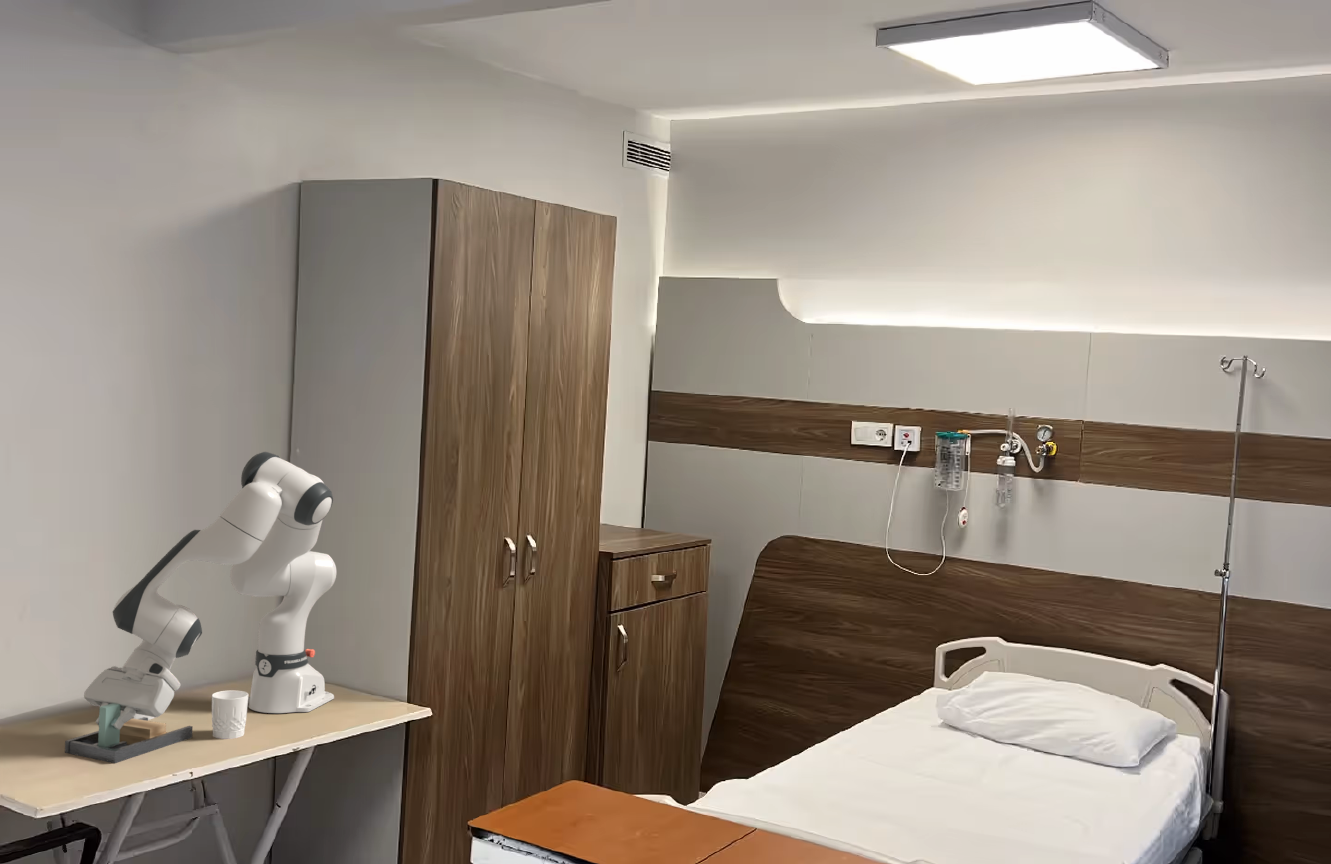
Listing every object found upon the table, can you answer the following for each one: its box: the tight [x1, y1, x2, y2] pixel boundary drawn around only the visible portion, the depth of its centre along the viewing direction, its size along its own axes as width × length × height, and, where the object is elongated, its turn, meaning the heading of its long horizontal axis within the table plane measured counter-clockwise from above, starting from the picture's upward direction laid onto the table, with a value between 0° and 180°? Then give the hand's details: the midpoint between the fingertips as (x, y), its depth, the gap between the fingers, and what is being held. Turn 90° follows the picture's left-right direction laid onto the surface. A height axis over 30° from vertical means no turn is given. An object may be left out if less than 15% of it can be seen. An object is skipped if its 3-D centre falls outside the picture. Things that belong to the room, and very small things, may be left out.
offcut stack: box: [119, 719, 168, 745], centre depth 269 cm, size 6×10×4 cm, turn 68°
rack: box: [64, 717, 193, 764], centre depth 267 cm, size 22×14×3 cm, turn 158°
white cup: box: [211, 689, 250, 740], centre depth 278 cm, size 8×8×10 cm
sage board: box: [98, 703, 121, 747], centre depth 261 cm, size 4×2×10 cm, turn 158°
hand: (107, 726), depth 260 cm, fingers open, 3 cm apart
